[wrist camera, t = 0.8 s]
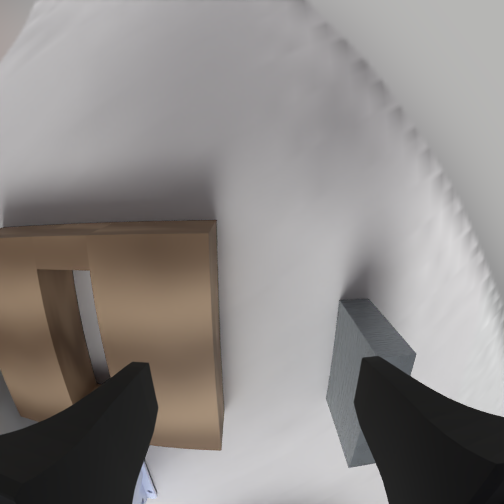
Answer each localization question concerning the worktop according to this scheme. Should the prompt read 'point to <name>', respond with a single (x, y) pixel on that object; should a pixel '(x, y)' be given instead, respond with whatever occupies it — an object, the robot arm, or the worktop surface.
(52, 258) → the slotted tan panel
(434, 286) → the worktop surface
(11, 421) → the grey arched slab
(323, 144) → the worktop surface
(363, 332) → the grey flat-faced block
